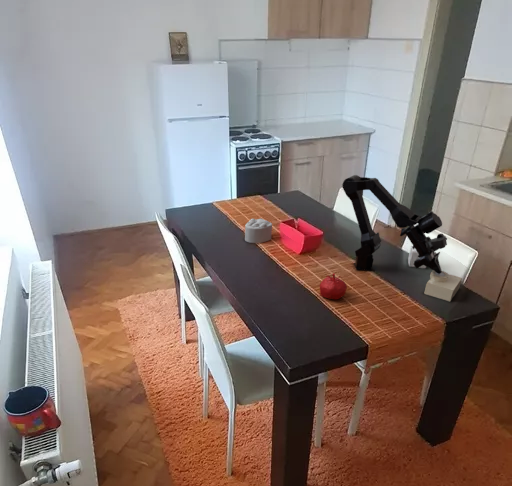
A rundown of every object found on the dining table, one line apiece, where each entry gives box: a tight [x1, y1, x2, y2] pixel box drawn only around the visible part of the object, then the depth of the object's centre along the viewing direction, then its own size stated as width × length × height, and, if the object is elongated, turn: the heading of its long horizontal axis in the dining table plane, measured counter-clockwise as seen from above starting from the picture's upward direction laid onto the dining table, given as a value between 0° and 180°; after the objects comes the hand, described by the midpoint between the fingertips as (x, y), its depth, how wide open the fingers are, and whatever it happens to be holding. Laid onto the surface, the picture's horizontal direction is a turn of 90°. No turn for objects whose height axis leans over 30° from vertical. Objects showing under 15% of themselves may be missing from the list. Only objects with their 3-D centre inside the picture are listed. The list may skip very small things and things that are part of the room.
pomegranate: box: [319, 272, 348, 301], centre depth 176 cm, size 10×10×9 cm
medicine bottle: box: [407, 245, 427, 269], centre depth 202 cm, size 7×7×12 cm
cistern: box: [424, 270, 463, 302], centre depth 183 cm, size 11×13×7 cm
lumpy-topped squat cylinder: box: [244, 218, 273, 244], centre depth 221 cm, size 10×13×9 cm
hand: (440, 272), depth 182 cm, fingers closed, pressing on flush button
